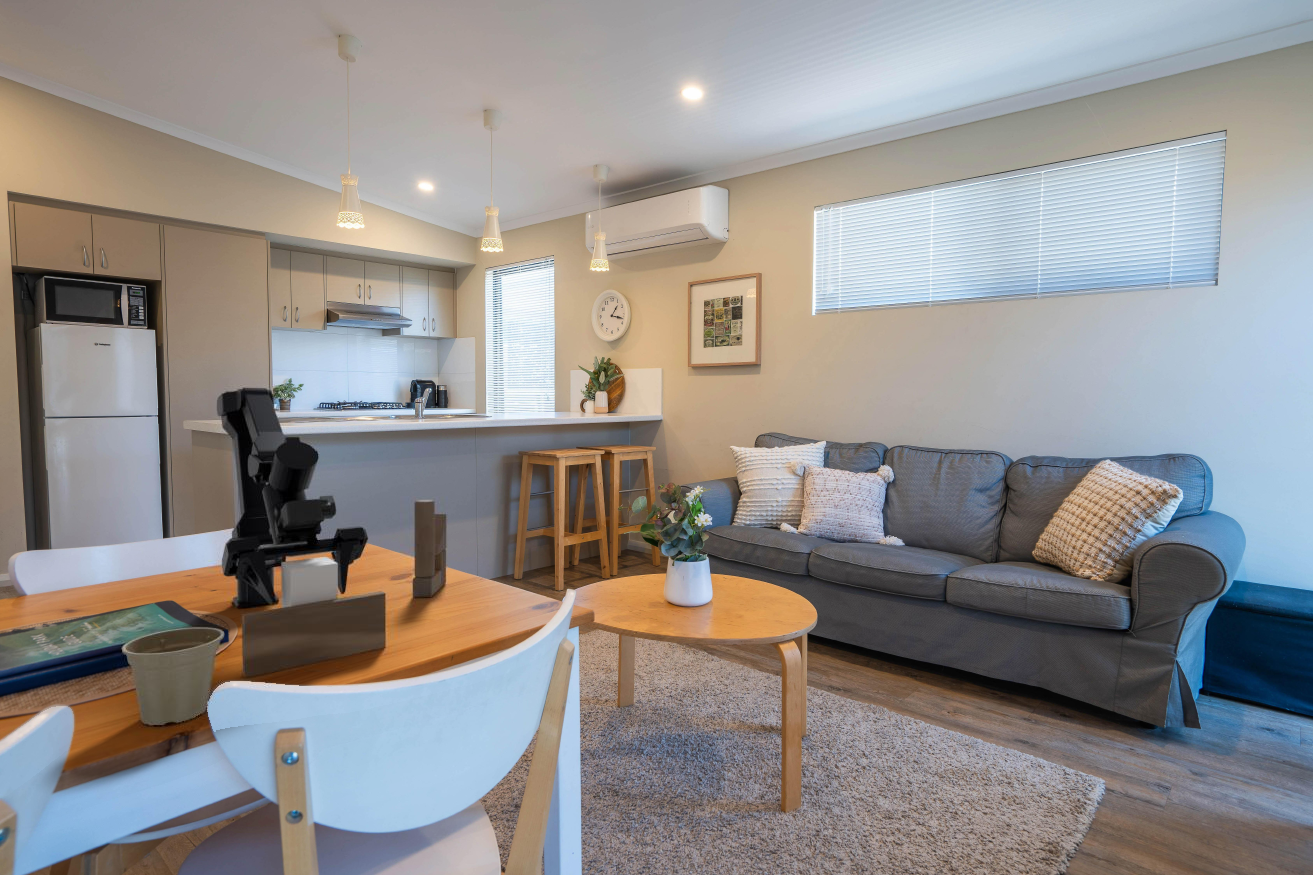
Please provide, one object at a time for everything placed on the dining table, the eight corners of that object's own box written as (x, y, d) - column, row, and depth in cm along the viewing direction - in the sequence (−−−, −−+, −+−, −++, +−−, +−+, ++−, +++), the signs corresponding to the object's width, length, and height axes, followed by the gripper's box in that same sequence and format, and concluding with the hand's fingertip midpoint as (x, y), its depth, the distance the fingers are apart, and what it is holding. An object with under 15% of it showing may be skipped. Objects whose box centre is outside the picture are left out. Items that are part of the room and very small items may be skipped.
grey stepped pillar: (446, 583, 137) (446, 494, 136) (431, 597, 126) (431, 501, 125) (428, 583, 137) (428, 494, 136) (411, 597, 126) (411, 501, 125)
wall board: (240, 671, 90) (239, 612, 89) (378, 641, 102) (378, 589, 101) (245, 677, 88) (244, 616, 87) (385, 646, 100) (385, 593, 99)
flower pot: (158, 697, 81) (157, 626, 81) (240, 695, 82) (240, 625, 82) (101, 735, 72) (100, 655, 72) (194, 732, 73) (193, 653, 72)
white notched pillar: (280, 650, 98) (280, 561, 97) (325, 641, 102) (324, 555, 101) (291, 662, 93) (290, 569, 92) (338, 653, 97) (337, 563, 96)
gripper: (224, 482, 94) (242, 576, 86) (363, 475, 106) (390, 556, 99) (214, 530, 100) (230, 622, 92) (347, 518, 112) (371, 598, 105)
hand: (309, 598), depth 97 cm, fingers open, 9 cm apart
